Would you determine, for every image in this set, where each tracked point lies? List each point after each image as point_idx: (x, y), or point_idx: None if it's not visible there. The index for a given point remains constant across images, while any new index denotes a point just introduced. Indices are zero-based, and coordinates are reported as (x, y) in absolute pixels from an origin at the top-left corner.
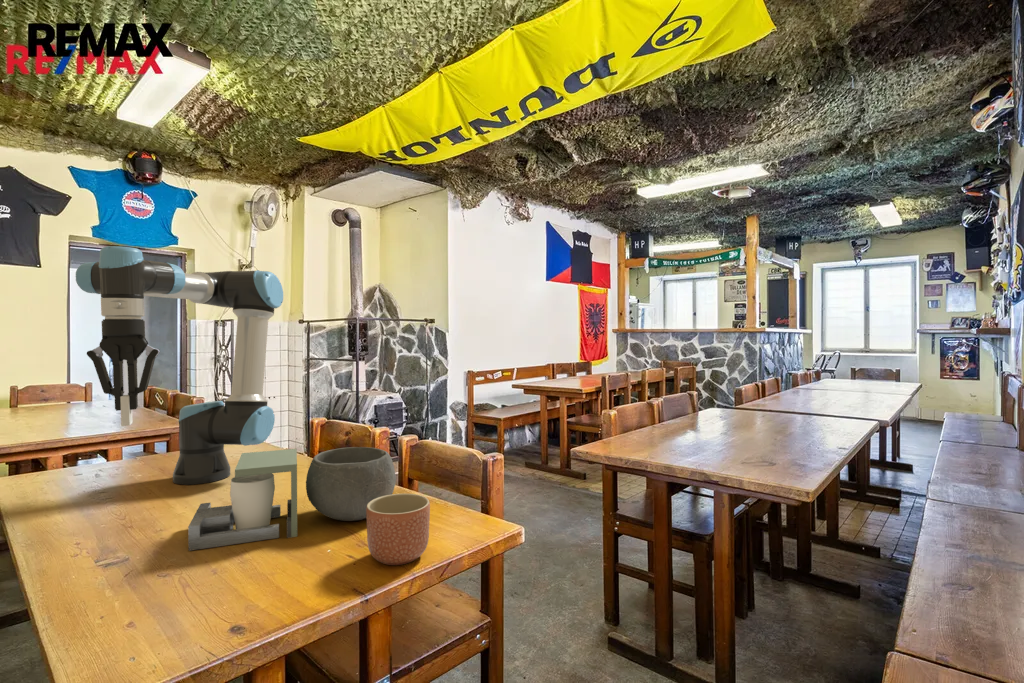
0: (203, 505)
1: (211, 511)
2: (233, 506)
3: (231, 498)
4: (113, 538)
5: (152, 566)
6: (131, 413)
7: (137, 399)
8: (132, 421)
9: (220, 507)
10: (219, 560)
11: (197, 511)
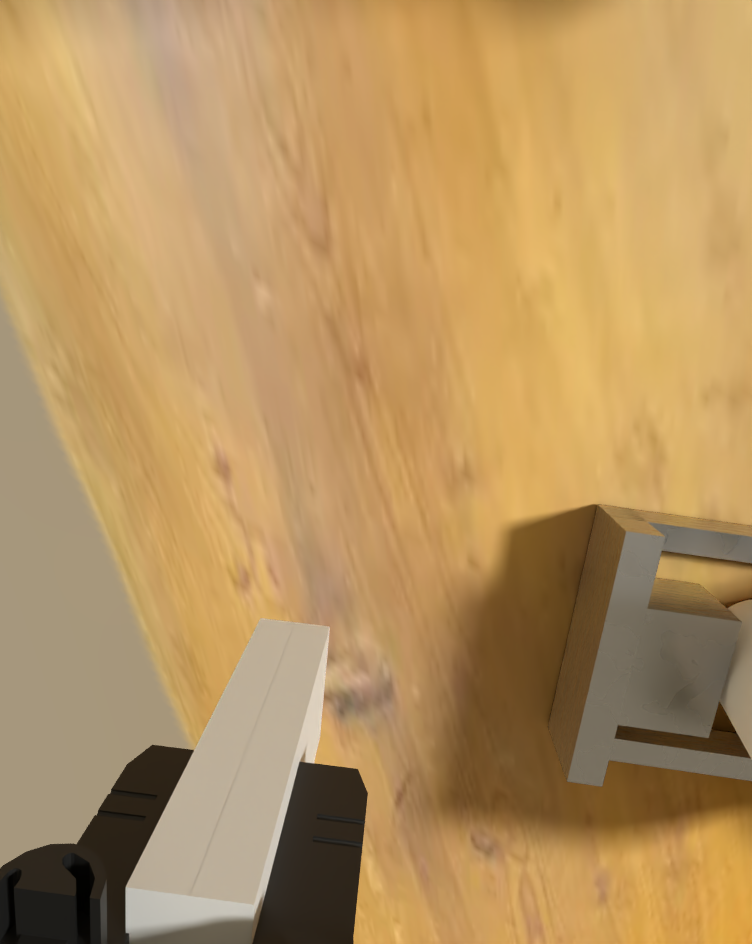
0: (634, 565)
1: (654, 660)
2: (738, 732)
3: (750, 747)
4: (323, 478)
5: (456, 778)
6: (309, 732)
7: (358, 881)
8: (326, 643)
9: (692, 629)
10: (620, 830)
11: (606, 631)
